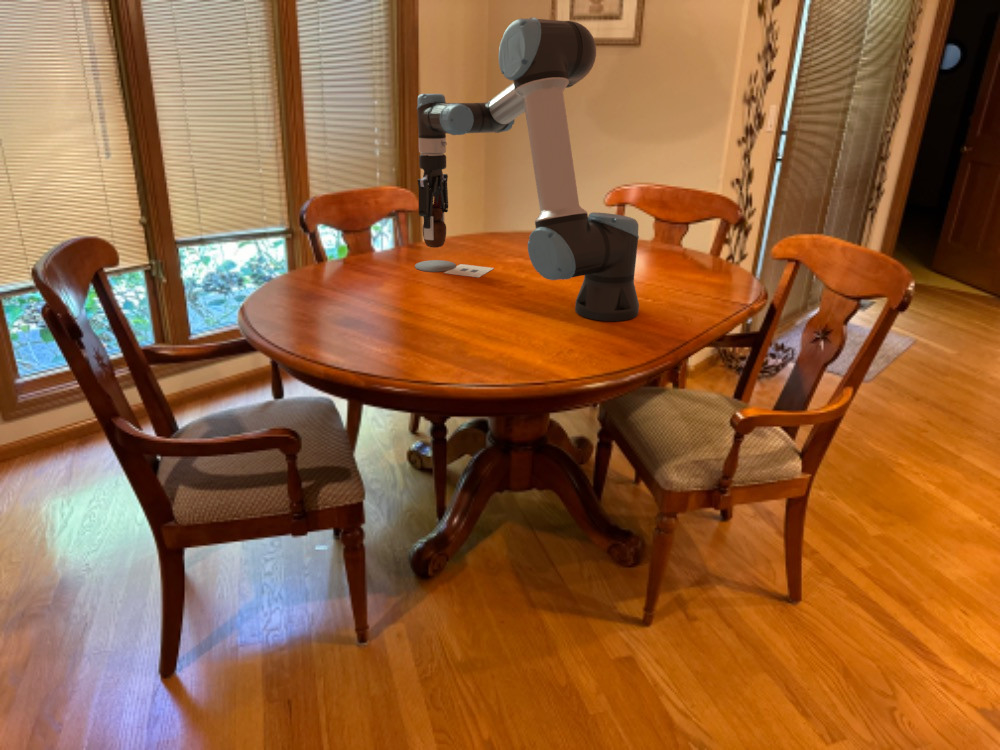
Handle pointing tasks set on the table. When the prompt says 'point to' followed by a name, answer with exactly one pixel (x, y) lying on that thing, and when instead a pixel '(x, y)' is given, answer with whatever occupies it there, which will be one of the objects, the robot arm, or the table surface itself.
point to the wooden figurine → (437, 226)
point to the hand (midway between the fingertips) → (434, 237)
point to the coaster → (435, 266)
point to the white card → (469, 270)
